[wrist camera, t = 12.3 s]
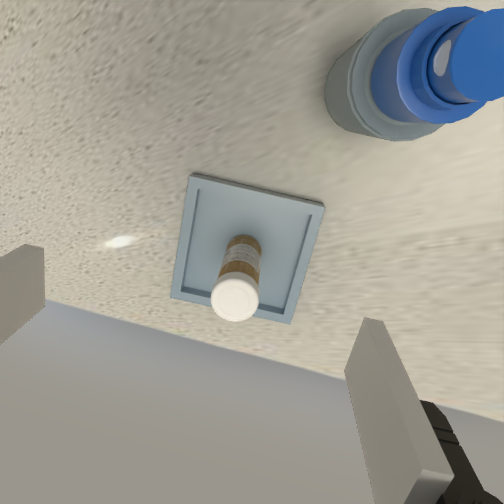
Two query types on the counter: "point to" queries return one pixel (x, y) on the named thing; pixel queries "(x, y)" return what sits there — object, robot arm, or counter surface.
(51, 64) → the counter surface
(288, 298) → the tray
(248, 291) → the sprinkles bottle
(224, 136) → the counter surface
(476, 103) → the spray bottle
